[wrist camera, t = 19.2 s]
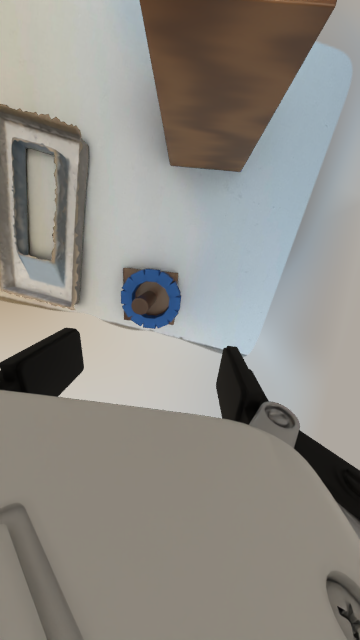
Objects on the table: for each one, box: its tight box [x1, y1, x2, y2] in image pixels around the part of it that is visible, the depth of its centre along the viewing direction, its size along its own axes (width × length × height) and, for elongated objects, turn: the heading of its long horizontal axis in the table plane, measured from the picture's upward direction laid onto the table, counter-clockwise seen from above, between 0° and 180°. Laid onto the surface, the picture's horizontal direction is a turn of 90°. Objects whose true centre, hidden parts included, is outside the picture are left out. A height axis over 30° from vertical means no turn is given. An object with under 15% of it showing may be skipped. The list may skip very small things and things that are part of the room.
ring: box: [121, 269, 181, 329], centre depth 28 cm, size 10×10×2 cm
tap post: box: [123, 268, 178, 325], centre depth 26 cm, size 9×9×8 cm
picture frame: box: [0, 104, 89, 310], centre depth 25 cm, size 13×25×3 cm, turn 166°
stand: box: [140, 0, 337, 172], centre depth 14 cm, size 10×10×16 cm
